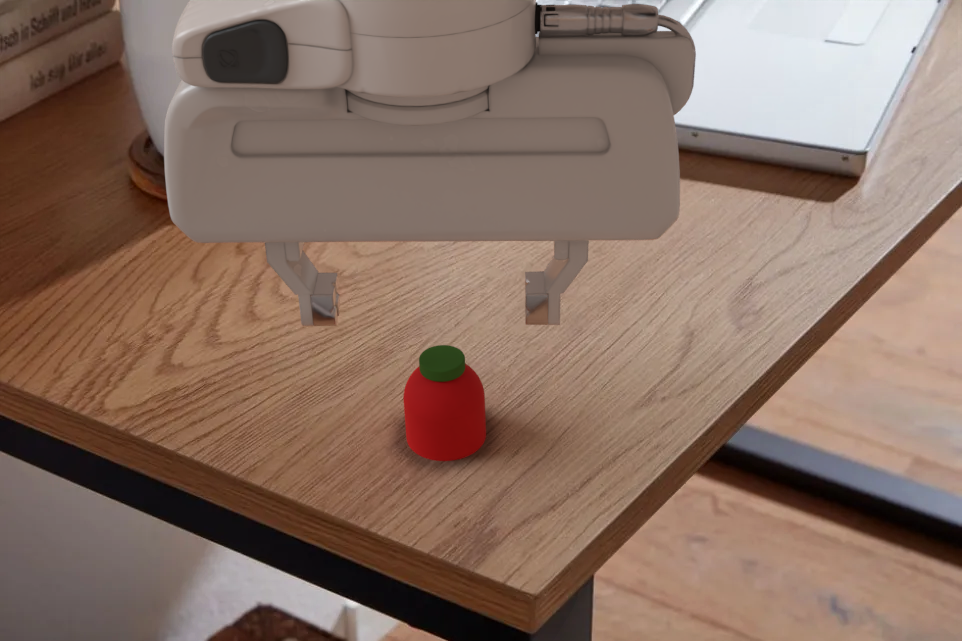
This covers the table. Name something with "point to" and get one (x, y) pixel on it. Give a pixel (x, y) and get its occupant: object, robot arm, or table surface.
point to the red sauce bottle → (444, 406)
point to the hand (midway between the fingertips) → (431, 318)
